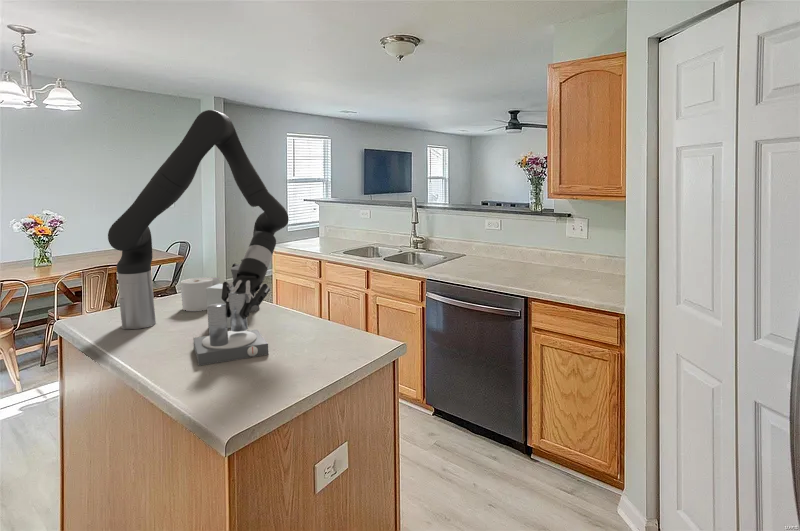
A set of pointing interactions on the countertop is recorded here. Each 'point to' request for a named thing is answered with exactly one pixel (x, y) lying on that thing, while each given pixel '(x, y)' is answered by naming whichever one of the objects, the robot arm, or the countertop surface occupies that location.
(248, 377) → the countertop surface
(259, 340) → the scale
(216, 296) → the supplement box
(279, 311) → the countertop surface
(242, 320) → the spacer
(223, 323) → the cylinder
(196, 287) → the toilet tissue
